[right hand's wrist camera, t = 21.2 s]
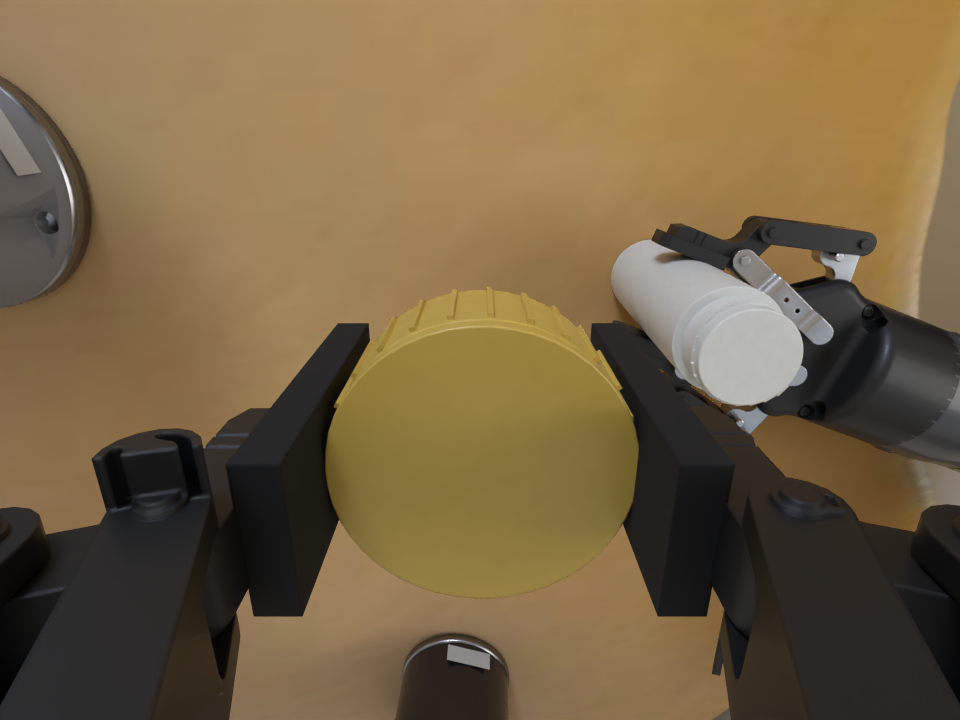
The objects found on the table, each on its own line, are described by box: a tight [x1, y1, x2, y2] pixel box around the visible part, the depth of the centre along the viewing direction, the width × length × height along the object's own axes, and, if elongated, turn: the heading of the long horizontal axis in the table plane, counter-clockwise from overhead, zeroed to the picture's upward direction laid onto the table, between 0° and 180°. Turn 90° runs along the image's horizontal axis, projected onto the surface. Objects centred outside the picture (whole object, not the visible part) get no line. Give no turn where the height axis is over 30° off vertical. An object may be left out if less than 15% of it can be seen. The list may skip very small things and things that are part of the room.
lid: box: [325, 287, 639, 598], centre depth 11 cm, size 6×6×2 cm
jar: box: [611, 240, 803, 406], centre depth 30 cm, size 5×5×16 cm
